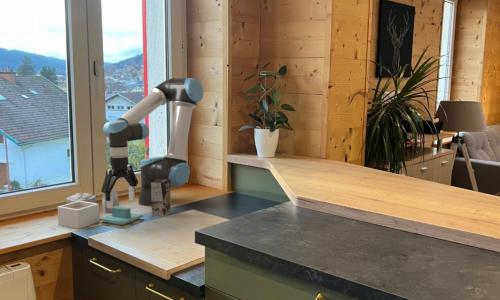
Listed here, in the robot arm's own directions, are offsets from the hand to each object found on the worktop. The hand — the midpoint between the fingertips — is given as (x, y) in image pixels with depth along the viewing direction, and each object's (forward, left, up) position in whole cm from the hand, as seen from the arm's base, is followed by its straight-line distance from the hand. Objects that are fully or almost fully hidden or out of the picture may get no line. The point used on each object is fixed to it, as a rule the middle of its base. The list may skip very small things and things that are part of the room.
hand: (121, 204), depth 208 cm
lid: (0, 0, -7) cm, 7 cm away
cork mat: (0, 0, -8) cm, 8 cm away
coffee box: (-18, +8, -8) cm, 21 cm away
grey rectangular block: (-11, -17, -8) cm, 22 cm away
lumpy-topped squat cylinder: (-4, -28, -8) cm, 29 cm away
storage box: (+10, -15, -8) cm, 20 cm away
